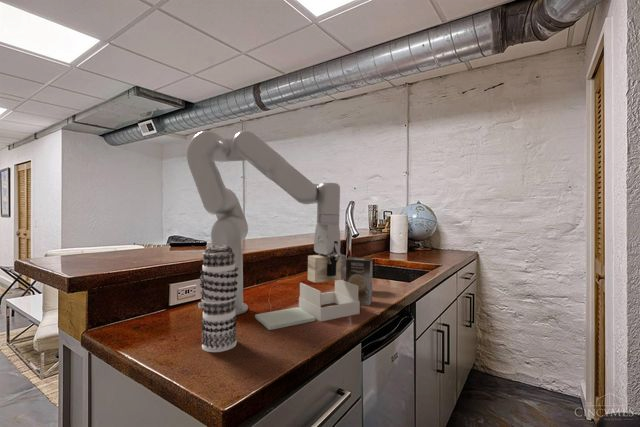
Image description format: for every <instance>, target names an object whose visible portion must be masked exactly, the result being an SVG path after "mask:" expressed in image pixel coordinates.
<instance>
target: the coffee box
mask: <svg viewBox="0 0 640 427" xmlns="http://www.w3.org/2000/svg"><path fill="white" fill-rule="evenodd" d="M373 260H374V259H373V258H370V257H368V258H367V257H356V256H348V258H347V257H346V282H349V283H351V284H354V285H357V286H358V301H360V306H368V307H369V306H370V305H371V304H372V302H373V267H374V266H373V265H374V264H373Z"/></svg>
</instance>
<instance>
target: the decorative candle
mask: <svg viewBox="0 0 640 427" xmlns="http://www.w3.org/2000/svg"><path fill="white" fill-rule="evenodd" d="M234 253H235V251H233V250H232V248H231V247H230V246H226V245H216V246H212V245H210V246H207V247H206V248H205V250H204V252H201V254H202V256H203V258H202V259H203V260H202V261H203V264H202V269H201V270H200V274H201V275H200V277H199V280H200V284H199V286H200V287H201V291H200V295H201V298H200V299H201V301H200V302H204V305H203V307H204V308H203V311H202V319H200V320H201V324H202V325H201V330H203V331H202V332H201V337H202V338H201V348H202V350H203V351H205V352H208V353H223V352H226V351H229V350H231V349H233V348H235V347H236V345H237V343H238V342H237V337H238V335H237V332H238V329H237V328H236V327H237V324H238V322H237V318H238V317H237V316H238V315H235V299H236V295H235V294H234V292H235V291H237V288H236V287H234V286H235V285H237V283H238V282H236V281H234V278H236V277H237V276H238V274H236V273H234V271H235V272H236V271H237V270H238V268H237V267H235V263H234Z"/></svg>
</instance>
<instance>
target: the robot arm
mask: <svg viewBox="0 0 640 427" xmlns="http://www.w3.org/2000/svg"><path fill="white" fill-rule="evenodd" d="M186 160H187V164H188V168H189V170H190V173H191V175H192V178H193V180H194V183H195V187H196V189H197V191H198V195H199V196H200V199H201V203H202V205H203V207H204V209H205V210H206V212H208V213H209V214H211V215H215V216H216V218H217V220H216V221H215V222H214V223H213V225H212V227H211V229H210V230H211V232H210V240H211V246H216V245H226V246H230V247H231V248H232V250H233V251H235V253H234V263H235V267H237V268H238V270H237V271H236V272H235V271H234V273H236V274H238V276H237V277H236V278H234V281H236V282H238V283H237V285H235V286H234V287H236V288H237V291H235V292H234V294H235V295H236V299H235V315H236V316H238V315H241V314H244V313H246V312H247V311H248V308H249V307H248V305H247V303H244V292H243V291H244V276H243V275H244V272H243V271H244V270H243V269H244V268H243V267H244V262H243V259H244V258H243V257H244V256H243V244H242V241H243V240H244V239H246V237H247V235H248V232H249V224H248V221H247V218H246V217H245V214H244V211H243V208H242V205H241V204H240V200H239V199H238V197H237V195H236V194H235V192H234V191H233V190H231V189H230V188H227V187H226V185H225V184H224V180H223V178H222V176H221V172H220V169H218V167H217V165H216V163H215V162H220V163H221V162H222V163H224V162H240V161H241V162H243V161H246V162H248V163H249V164H251V165H252V166H253V167H254V168H255V169H256V170H258V171H259V172H260V173H261V174H262V175H264V176H265V177H266V178H267V179H268V180H270V181H272V182H273V183H275V185H277V186H278V187H280V189H282V190H283V191H284V192H285V193H287V194H288V195H289V196H290V197H291V198H293V199H294V200H295V201H297V202H298V203H299V204H303V205H314V204H316V208H317V209H316V225H315V231H314V240H313V242H314V243H313V251H314V252H315V253H316V255H328V263H329V264H327V276H336V264H337V261H338V259H339V258H340V257H341V255H342V253H341V229H340V217H341V216H340V215H341V214H340V213H341V212H340V210H341V208H340V207H341V206H340V204H341V187H340V184H339V183H337V182H321V183H314V182H312V181H311V180H309V179H308V178H307V177H306V176H305V175H303V174H302V173H301V172H300V171H299V170H298V169H296V168H295V167H294V166H293V165H292V164H290V163H289V162H288V161H287V160H286V159H285V158H284V157H283V156H282V155H281V154H279V153H278V152H277V151H276V150H274V148H272V147H271V146H270V145H268V144H267V143H266V142H265V141H263V140H262V139H261V138H260V137H259V136H257V134H255V133H253V132H252V131H251V130H246V129H244V130H240V131H238V132H237V133H236V134H235V135H234V137H222V136H221V135H220V134H218V133H217V132H214V131H212V130H202V131H200V132H197V133H196V134H195V135H193V137H192V138H191V140H190V141H189V144H188V146H187V148H186ZM331 256H333V257H332V259H331ZM203 305H204V302H202V301H200V302H198V309H204V307H203Z"/></svg>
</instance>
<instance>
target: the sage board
mask: <svg viewBox="0 0 640 427" xmlns="http://www.w3.org/2000/svg"><path fill="white" fill-rule="evenodd" d="M254 318H255V319H256V320H257V321H258V322H259V323H261V324H262V325H263V326H264V327H265V328H266V329H267V330H269V331H271V330H277V329H282V328H286V327H291V326H297V325H301V324H307V323H310V322H311V323H312V322H315V321H316V318H315V317H314V316H312V315H310V314H309V313H307V312H305V311H303V310H302V309H300V308H299V306H298V307H297V306H296V307H291V308H285V309H280V310H279V309H278V310H274V311H267V312H261V313H256V314H254Z"/></svg>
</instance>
